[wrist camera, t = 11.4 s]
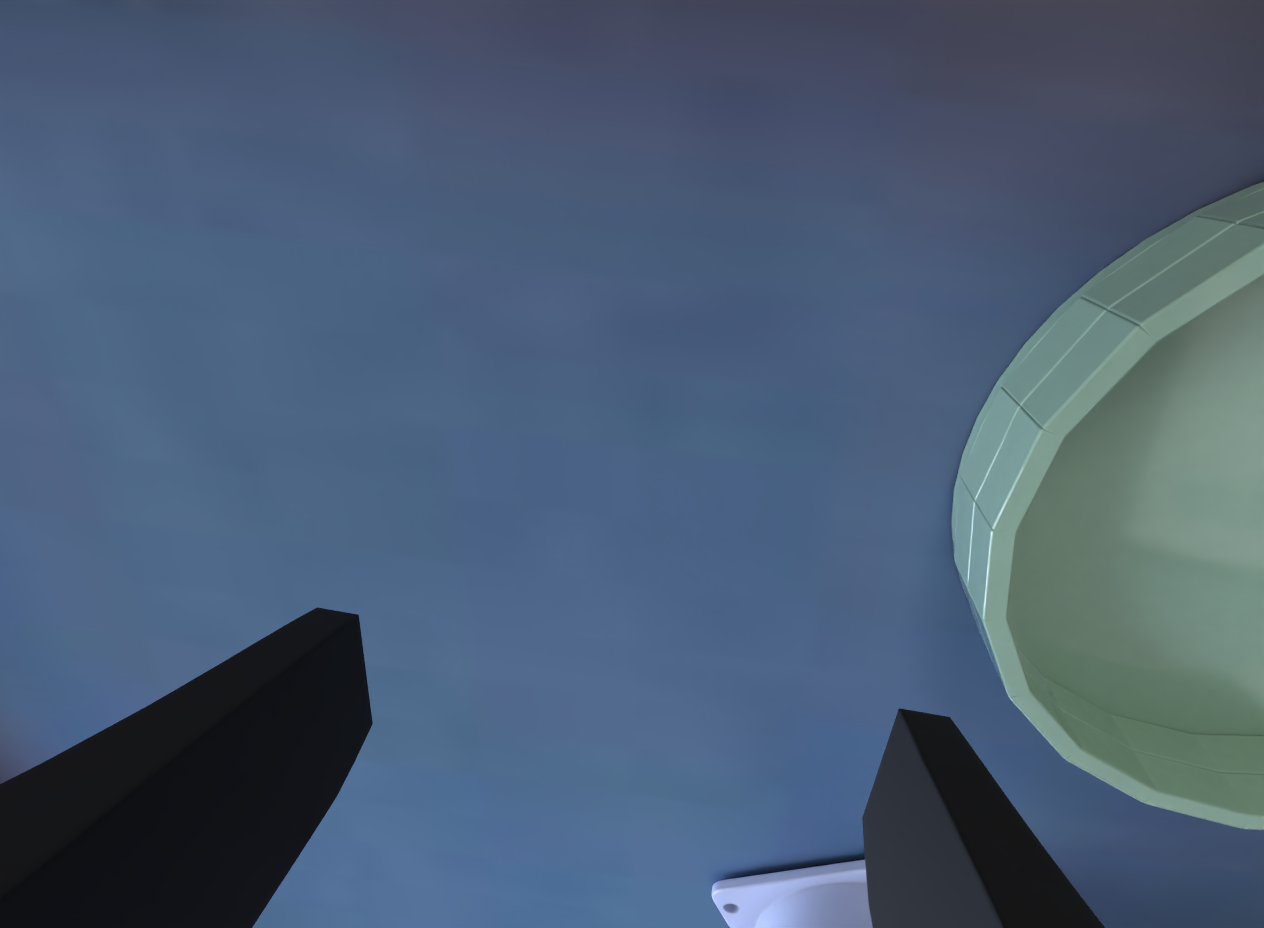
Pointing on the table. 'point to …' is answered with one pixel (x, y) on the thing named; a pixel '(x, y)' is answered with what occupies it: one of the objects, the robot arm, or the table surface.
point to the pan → (1135, 520)
